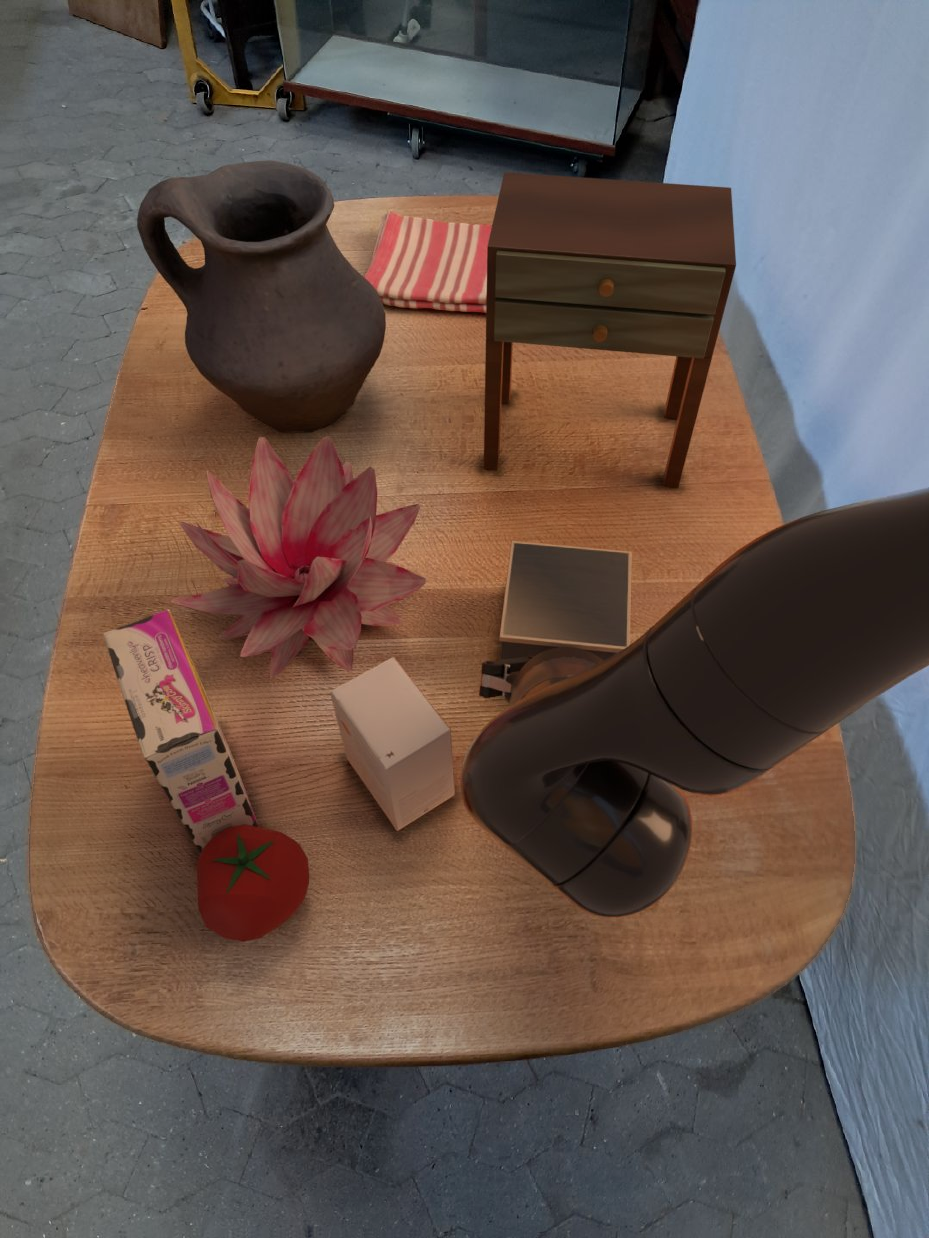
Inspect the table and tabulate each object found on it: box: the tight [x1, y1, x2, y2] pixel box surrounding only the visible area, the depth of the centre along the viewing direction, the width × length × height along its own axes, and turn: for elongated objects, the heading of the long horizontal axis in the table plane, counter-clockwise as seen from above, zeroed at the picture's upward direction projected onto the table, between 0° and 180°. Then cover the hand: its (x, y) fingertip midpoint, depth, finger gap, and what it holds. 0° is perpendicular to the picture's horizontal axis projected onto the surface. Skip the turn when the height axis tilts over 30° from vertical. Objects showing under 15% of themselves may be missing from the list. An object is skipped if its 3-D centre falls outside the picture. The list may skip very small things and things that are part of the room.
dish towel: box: [363, 210, 492, 314], centre depth 113 cm, size 17×23×4 cm
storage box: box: [498, 540, 633, 661], centre depth 78 cm, size 10×10×7 cm
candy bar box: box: [103, 609, 260, 855], centre depth 66 cm, size 11×5×16 cm, turn 27°
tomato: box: [196, 824, 310, 943], centre depth 64 cm, size 8×8×7 cm
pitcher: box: [136, 160, 387, 434], centre depth 90 cm, size 21×22×25 cm
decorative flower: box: [170, 435, 427, 680], centre depth 77 cm, size 21×21×15 cm
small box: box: [329, 656, 456, 832], centre depth 69 cm, size 8×6×10 cm
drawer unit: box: [483, 171, 737, 489], centre depth 86 cm, size 13×20×25 cm
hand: (562, 665), depth 74 cm, fingers closed
